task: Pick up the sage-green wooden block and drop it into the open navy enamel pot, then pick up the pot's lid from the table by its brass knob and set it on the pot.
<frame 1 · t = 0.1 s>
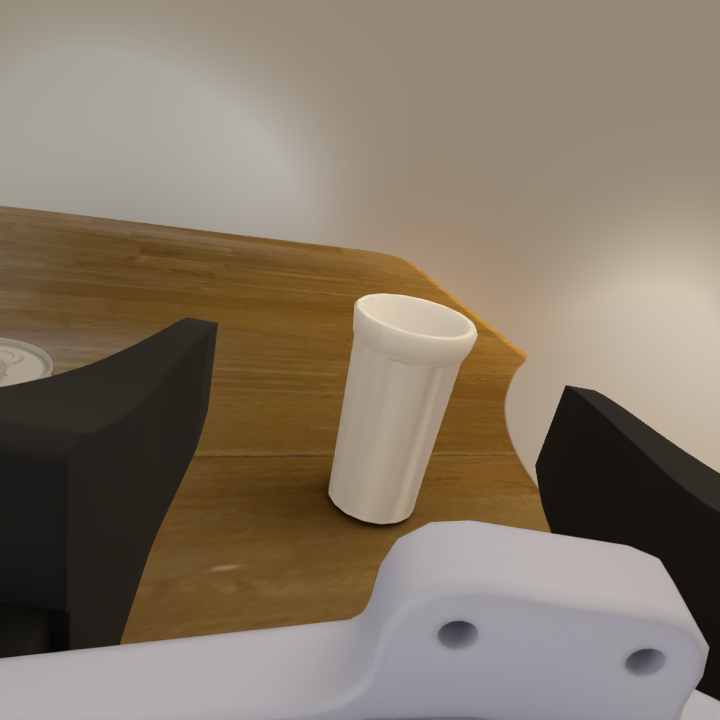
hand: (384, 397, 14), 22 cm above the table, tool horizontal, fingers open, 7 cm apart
cup: (369, 503, 49), on the table
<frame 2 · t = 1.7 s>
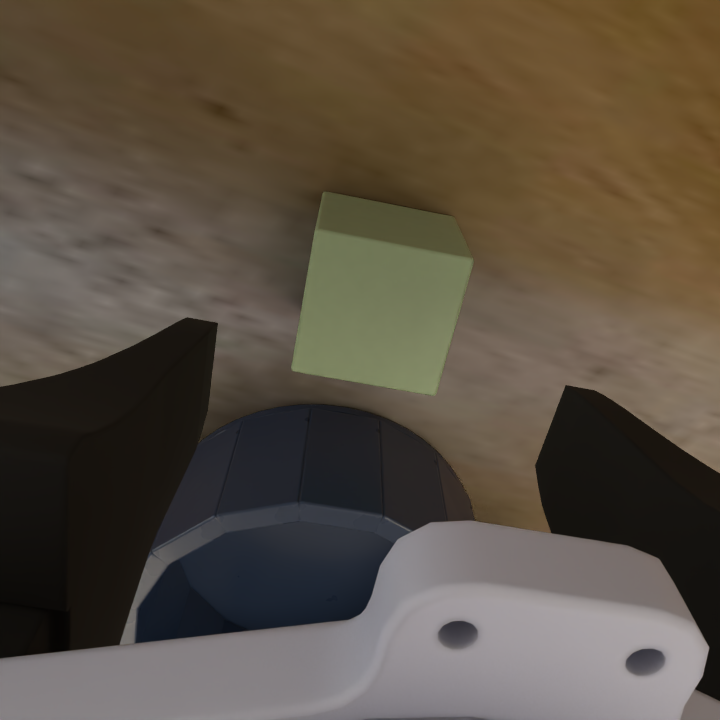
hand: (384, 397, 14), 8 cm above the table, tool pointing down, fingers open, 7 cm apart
block: (376, 266, 21), on the table
pot: (316, 538, 26), on the table
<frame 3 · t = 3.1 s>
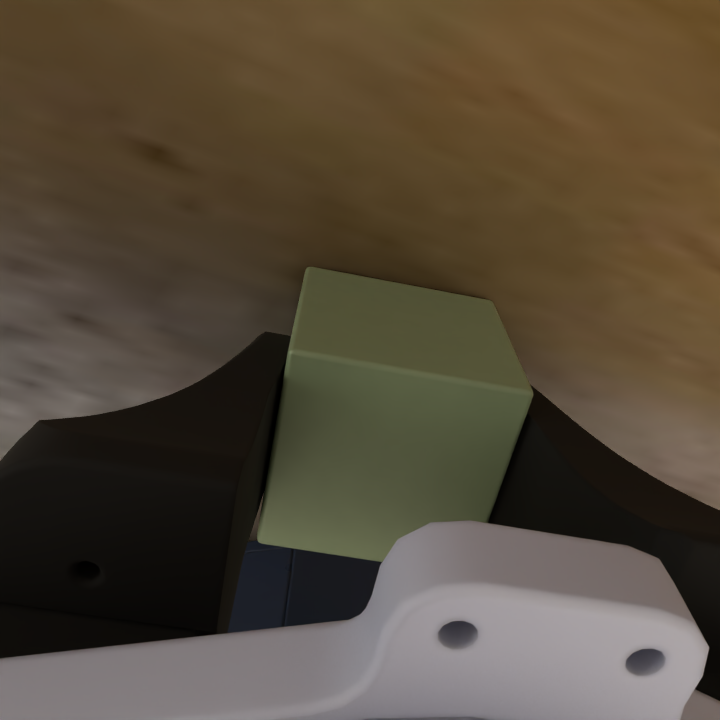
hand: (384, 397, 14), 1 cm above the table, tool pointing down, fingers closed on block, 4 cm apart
block: (381, 365, 15), on the table, touching gripper
pot: (304, 693, 20), on the table
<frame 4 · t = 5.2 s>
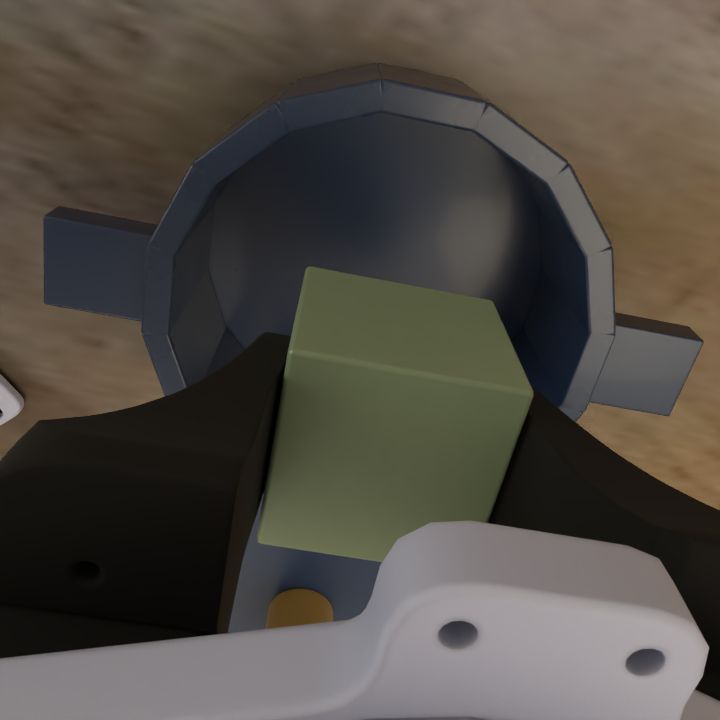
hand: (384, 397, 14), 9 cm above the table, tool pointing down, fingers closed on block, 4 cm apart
block: (381, 365, 15), point 8 cm above the table, touching gripper
pot: (374, 264, 22), on the table
lid: (301, 602, 28), point 1 cm above the table
when the fingers open (3 cm above the table, at t = 7.4 s): block drops 1 cm, resting on pot.
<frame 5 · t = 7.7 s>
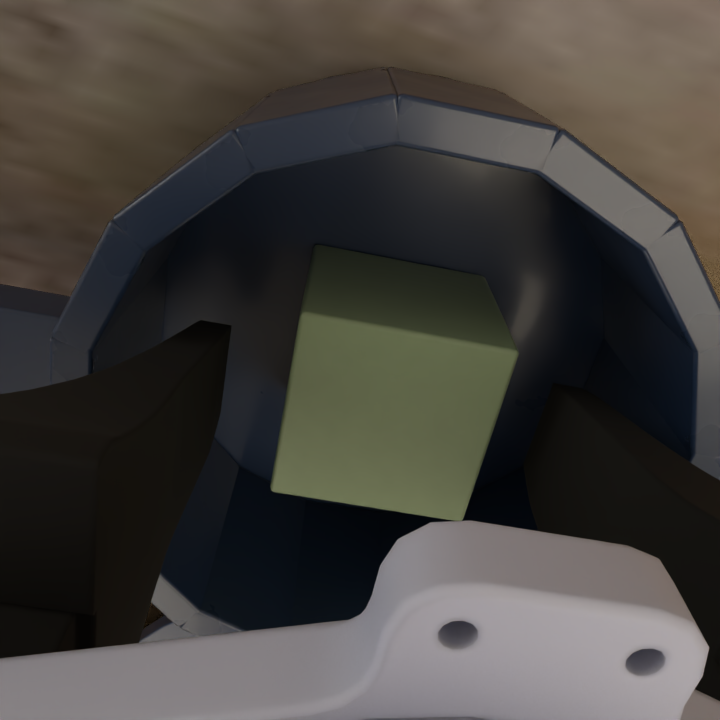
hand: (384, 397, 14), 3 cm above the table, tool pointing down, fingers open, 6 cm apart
block: (382, 337, 17), resting on pot
pot: (382, 330, 17), on the table
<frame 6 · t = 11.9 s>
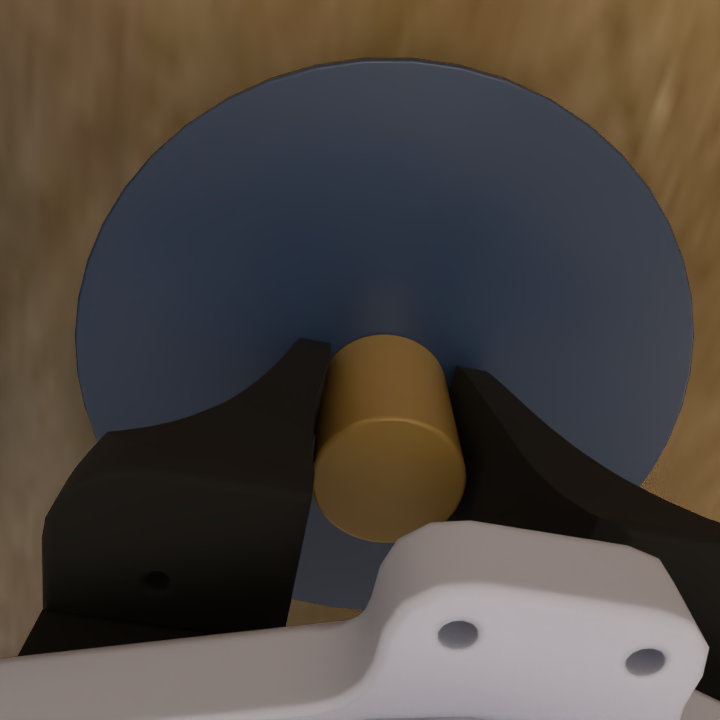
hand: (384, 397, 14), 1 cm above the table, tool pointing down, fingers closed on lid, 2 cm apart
lid: (382, 378, 15), point 1 cm above the table, touching gripper
when the fingers open (6 cm above the table, at t = 15.7 s): lid stays where it is, resting on pot.
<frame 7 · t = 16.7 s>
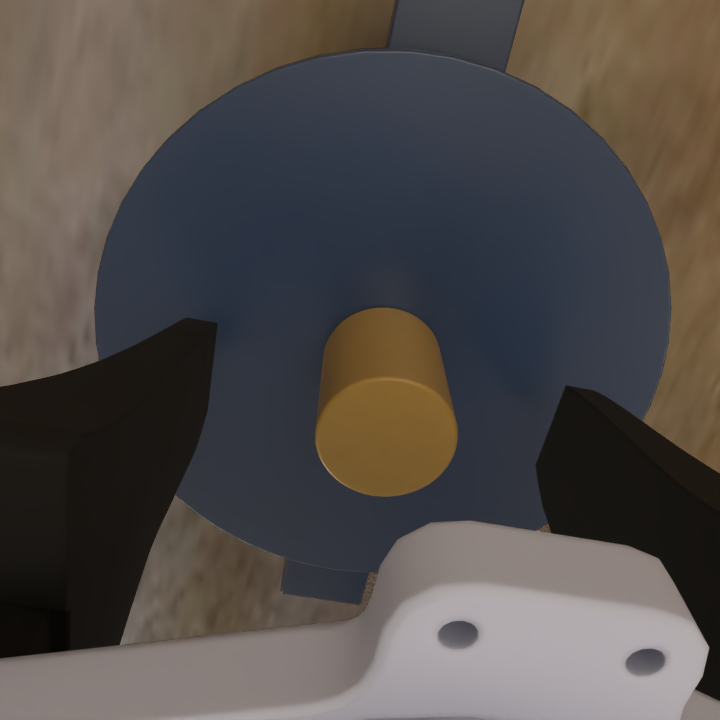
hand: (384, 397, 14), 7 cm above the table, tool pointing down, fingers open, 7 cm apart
pot: (377, 272, 21), on the table
lid: (381, 350, 16), point 5 cm above the table, touching pot
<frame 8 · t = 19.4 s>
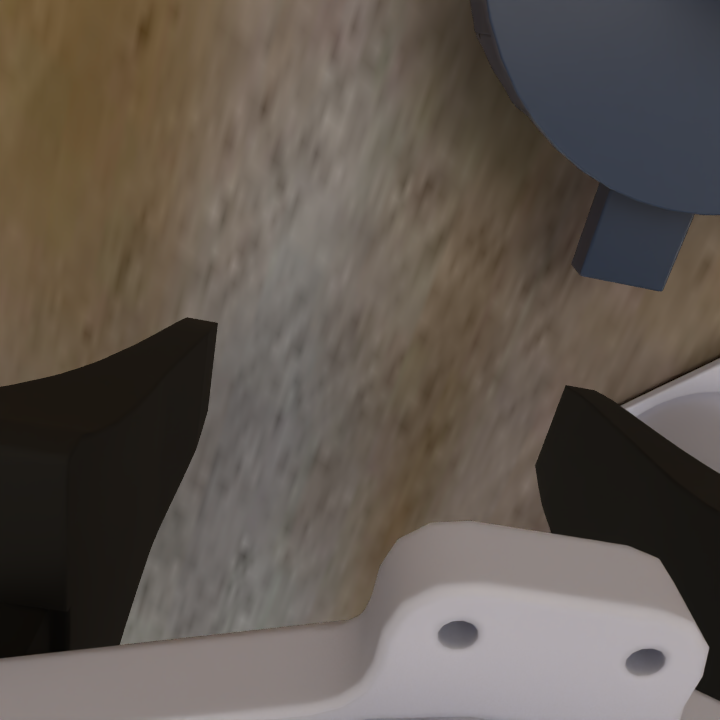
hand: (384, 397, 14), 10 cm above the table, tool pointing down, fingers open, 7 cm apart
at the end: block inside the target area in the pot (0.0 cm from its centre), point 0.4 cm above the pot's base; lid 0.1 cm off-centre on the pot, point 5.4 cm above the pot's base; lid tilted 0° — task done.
